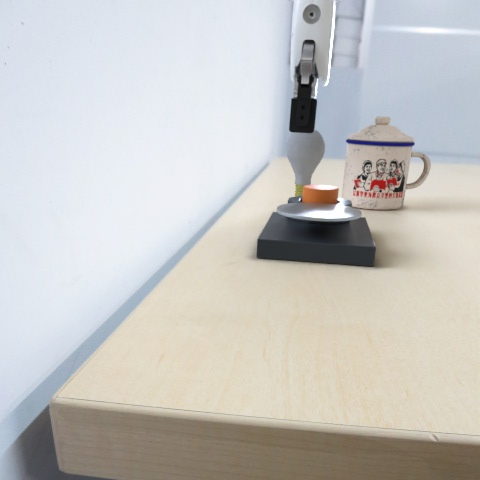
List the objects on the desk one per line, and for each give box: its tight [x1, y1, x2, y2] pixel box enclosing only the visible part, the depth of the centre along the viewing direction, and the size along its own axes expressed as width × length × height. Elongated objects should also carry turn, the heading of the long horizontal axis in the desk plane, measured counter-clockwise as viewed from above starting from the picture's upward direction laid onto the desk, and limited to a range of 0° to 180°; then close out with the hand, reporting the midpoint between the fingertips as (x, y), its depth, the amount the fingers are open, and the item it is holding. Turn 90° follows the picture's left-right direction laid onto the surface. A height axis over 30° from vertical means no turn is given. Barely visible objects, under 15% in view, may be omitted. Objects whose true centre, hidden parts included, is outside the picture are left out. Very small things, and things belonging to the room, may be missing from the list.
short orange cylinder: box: [302, 184, 340, 204], centre depth 51 cm, size 4×4×2 cm
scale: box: [256, 196, 377, 267], centre depth 48 cm, size 14×10×4 cm
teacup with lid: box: [341, 116, 432, 211], centre depth 68 cm, size 12×9×12 cm
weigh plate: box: [276, 202, 363, 222], centre depth 45 cm, size 8×8×1 cm
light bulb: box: [285, 128, 326, 197], centre depth 70 cm, size 5×5×10 cm
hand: (302, 131), depth 68 cm, fingers open, 9 cm apart
